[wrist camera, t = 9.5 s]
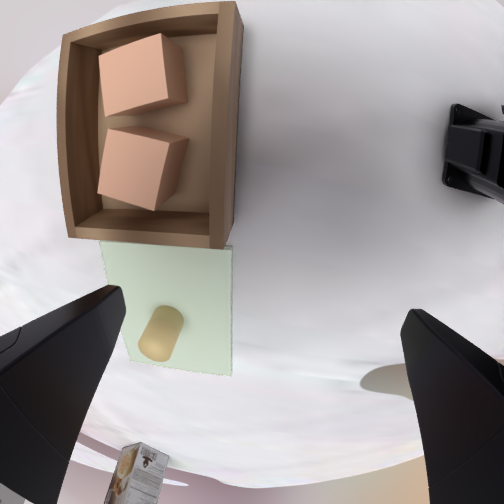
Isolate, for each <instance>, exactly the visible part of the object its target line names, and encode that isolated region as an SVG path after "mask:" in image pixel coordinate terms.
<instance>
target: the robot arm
mask: <svg viewBox="0 0 504 504" xmlns="http://www.w3.org/2000/svg"><path fill="white" fill-rule="evenodd" d="M501 107H502V112H503V114H504V105H501ZM457 108H458V109H459V112H457ZM445 158H446V161H445V167H444V173H443V183H444V185H446V186H448V187H452V188H455V189H459V190H463V191H467V192H471V193H474V194H478V195H481V196H485V197H488V198H492V199H496V200H497V201H499V202H501V203H503V204H504V122H502V121H495V120H493V119H491V118H489V117H487V116H485V115H483V114H481V113H479V112H476V111H474V110H472V109H470V108H467V107H465V106H463V105H460V104H453V105H452V108H451V119H450V127H449V134H448V142H447V150H446V157H445ZM449 177H450V181H449V182H448V178H449ZM125 315H126V305H125V300H124V295H123V291H122V288H121V287H120V286H116V285H107V286H105V287H102V288H100V289H98V290H96V291H94V292H92V293H89V294H87V295H85V296H83V297H81V298H79V299H77V300H75V301H72V302H70V303H68V304H66V305H64V306H62V307H60V308H58V309H56V310H54V311H51V312H49V313H47V314H45V315H43V316H41V317H39V318H37V319H35V320H33V321H31V322H29V323H27V324H25V325H23V326H22V327H19V328H17V329H15V330H13V331H11V332H9V333H7V334H4V335H2V336H0V504H23V503H24V501H25V499H27V500H28V501H30V502H32V503H34V504H57V500H58V497H59V494H60V490H61V487H62V483H63V480H64V477H65V474H66V470H67V467H68V464H69V460H70V458H71V455H72V452H73V449H74V446H75V443H76V440H77V437H78V435H79V432H80V429H81V427H82V424H83V422H84V419H85V416H86V414H87V411H88V409H89V406H90V404H91V401H92V399H93V396H94V394H95V392H96V389H97V387H98V384H99V382H100V380H101V377H102V375H103V373H104V371H105V368H106V366H107V364H108V362H109V359H110V357H111V355H112V352H113V350H114V347H115V344H116V341H117V338H118V335H119V332H120V329H121V326H122V323H123V321H124V318H125ZM400 335H401V341H402V347H403V352H404V358H405V364H406V370H407V375H408V380H409V383H410V388H411V392H412V396H413V400H414V404H415V409H416V413H417V418H418V423H419V428H420V433H421V438H422V444H423V450H424V456H425V462H426V470H427V477H428V486H429V497H430V504H504V366H503V365H502V364H500V363H498V362H497V361H496V360H495V359H493V358H492V357H491V356H489V355H488V354H487V353H485V352H484V351H482V350H481V349H480V348H478V347H477V346H475V345H474V344H473V343H471V342H470V341H468V340H467V339H465V338H464V337H463V336H461V335H460V334H458V333H457V332H455V331H454V330H452V329H451V328H449V327H448V326H447V325H445V324H444V323H442V322H441V321H439V320H438V319H436V318H435V317H433V316H432V315H430V314H429V313H427V312H426V311H424V310H423V309H411V310H410V311H409V312H408V314H407V316H406V319H405V321H404V324H403V326H402V328H401V333H400Z"/></svg>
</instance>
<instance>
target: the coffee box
mask: <svg viewBox="0 0 504 504" xmlns="http://www.w3.org/2000/svg"><path fill="white" fill-rule="evenodd" d="M168 458H169V456H168V455H166V454H163V453H161V452H159V451H157V450H155V449H153V448H151V447H149V446H147V445H145V444H143V443H141V442H140V443H137V444H134V445H131V446H128V447H125V448H122V451H121V454H120V457H119V460H118V462H117V465H116V468H115V471H114V474H113V477H112V480H111V483H110V486H109V489H108V492H107V495H106V498H105V501H104V504H157V502H158V498H159V494H160V490H161V486H162V482H163V478H164V474H165V470H166V466H167V462H168Z"/></svg>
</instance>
